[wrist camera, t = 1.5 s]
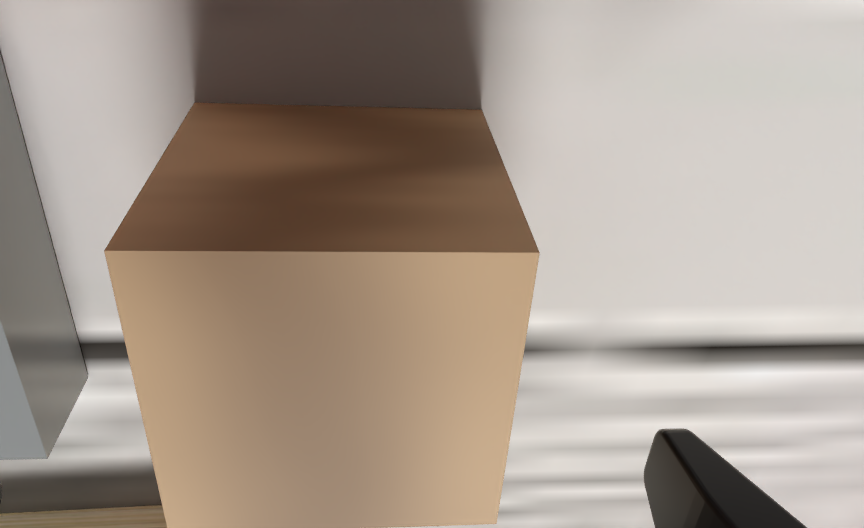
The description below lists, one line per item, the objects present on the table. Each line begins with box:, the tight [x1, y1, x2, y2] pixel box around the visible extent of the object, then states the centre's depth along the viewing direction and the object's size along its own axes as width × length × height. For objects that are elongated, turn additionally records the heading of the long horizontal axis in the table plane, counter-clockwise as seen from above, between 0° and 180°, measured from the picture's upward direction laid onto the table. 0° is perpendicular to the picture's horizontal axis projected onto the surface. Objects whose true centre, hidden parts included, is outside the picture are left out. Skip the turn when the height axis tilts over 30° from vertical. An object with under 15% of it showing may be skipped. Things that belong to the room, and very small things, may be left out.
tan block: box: [104, 103, 539, 528], centre depth 13 cm, size 6×6×6 cm
